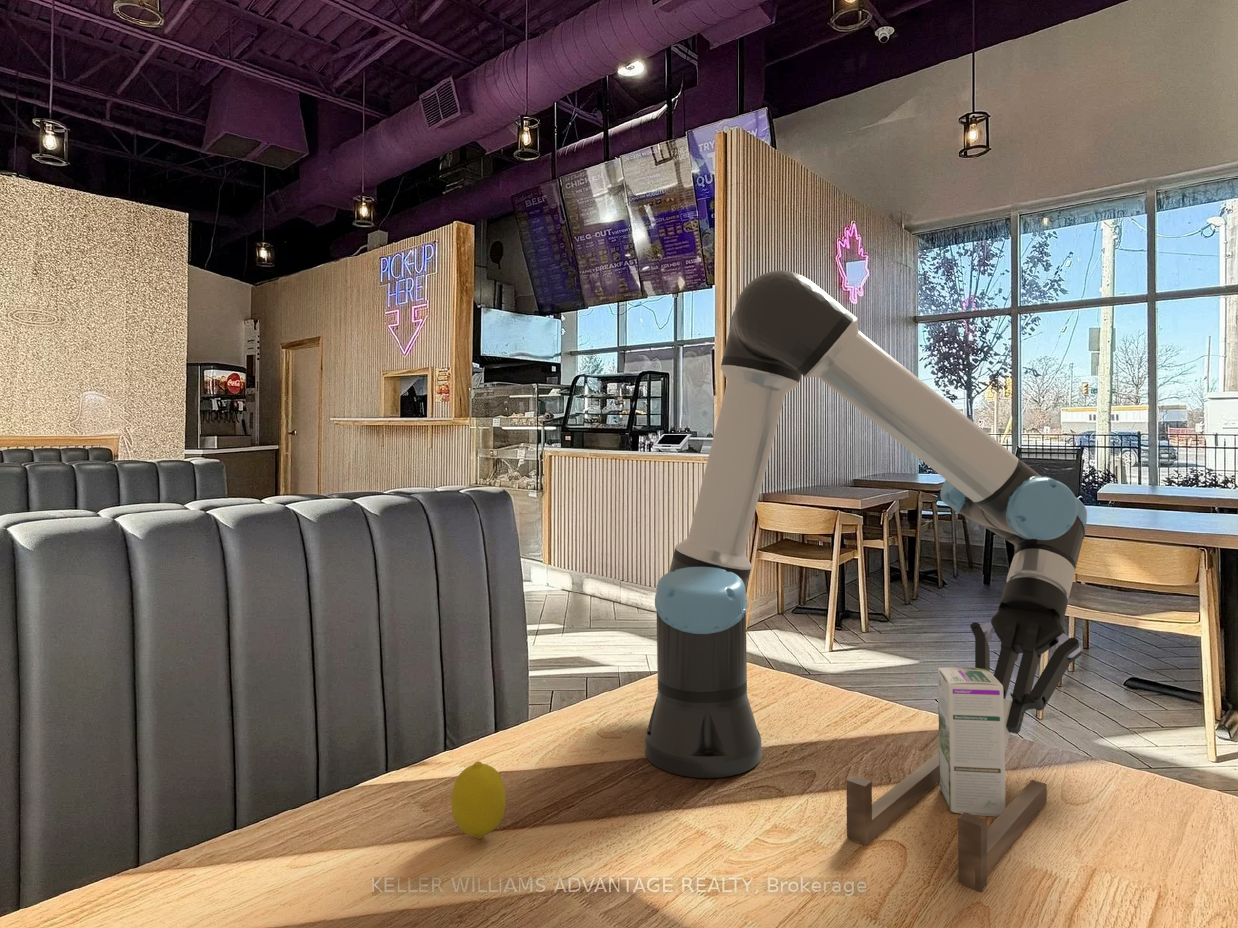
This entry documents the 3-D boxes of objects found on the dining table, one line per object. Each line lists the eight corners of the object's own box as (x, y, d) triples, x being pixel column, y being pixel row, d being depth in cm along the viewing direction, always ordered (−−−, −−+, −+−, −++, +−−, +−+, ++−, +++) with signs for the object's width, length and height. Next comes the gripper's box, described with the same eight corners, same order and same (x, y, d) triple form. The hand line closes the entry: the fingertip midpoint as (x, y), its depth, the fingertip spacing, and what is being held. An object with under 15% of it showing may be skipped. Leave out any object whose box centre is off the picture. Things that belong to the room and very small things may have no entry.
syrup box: (1007, 818, 78) (1007, 684, 77) (948, 813, 79) (948, 681, 79) (991, 792, 84) (991, 667, 83) (936, 788, 85) (936, 665, 84)
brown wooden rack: (846, 837, 75) (846, 779, 74) (933, 767, 90) (933, 719, 90) (981, 891, 65) (980, 825, 65) (1051, 802, 81) (1051, 749, 81)
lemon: (460, 858, 72) (458, 778, 72) (446, 832, 77) (444, 757, 77) (514, 843, 75) (512, 766, 74) (497, 819, 79) (495, 746, 79)
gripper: (1098, 615, 95) (1062, 784, 84) (991, 600, 104) (946, 752, 93) (1087, 580, 91) (1049, 753, 80) (978, 569, 100) (929, 722, 89)
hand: (993, 752), depth 87 cm, fingers closed
